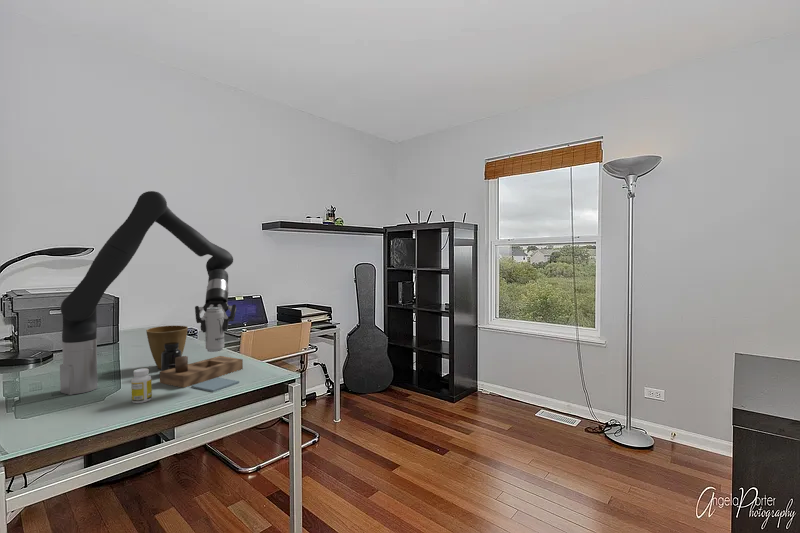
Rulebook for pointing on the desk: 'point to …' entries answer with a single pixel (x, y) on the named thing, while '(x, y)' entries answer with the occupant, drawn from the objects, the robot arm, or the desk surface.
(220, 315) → the energy drink can
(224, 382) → the rubber mat
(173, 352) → the supplement bottle
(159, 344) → the plant pot
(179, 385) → the body
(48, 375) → the desk surface
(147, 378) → the supplement bottle
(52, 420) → the desk surface
